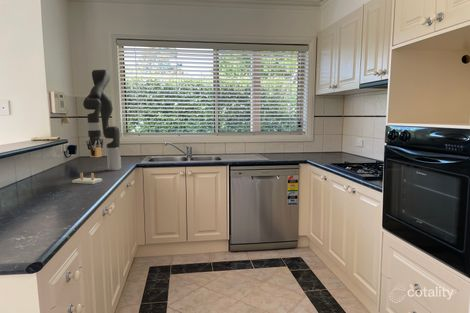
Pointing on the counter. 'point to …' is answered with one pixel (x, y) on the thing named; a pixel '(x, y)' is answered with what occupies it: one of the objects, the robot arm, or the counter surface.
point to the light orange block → (97, 152)
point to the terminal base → (87, 179)
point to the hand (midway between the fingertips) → (95, 155)
